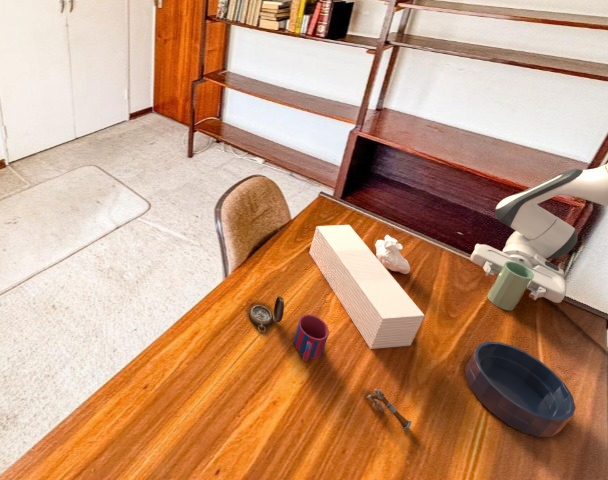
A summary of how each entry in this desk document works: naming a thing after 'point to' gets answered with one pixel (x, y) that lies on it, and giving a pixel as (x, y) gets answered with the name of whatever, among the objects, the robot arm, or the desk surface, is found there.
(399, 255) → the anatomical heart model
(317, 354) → the mug
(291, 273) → the desk surface
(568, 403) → the wash bowl
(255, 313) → the compass
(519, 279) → the green cup
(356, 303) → the stack of papers
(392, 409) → the brown grey jointed rod
